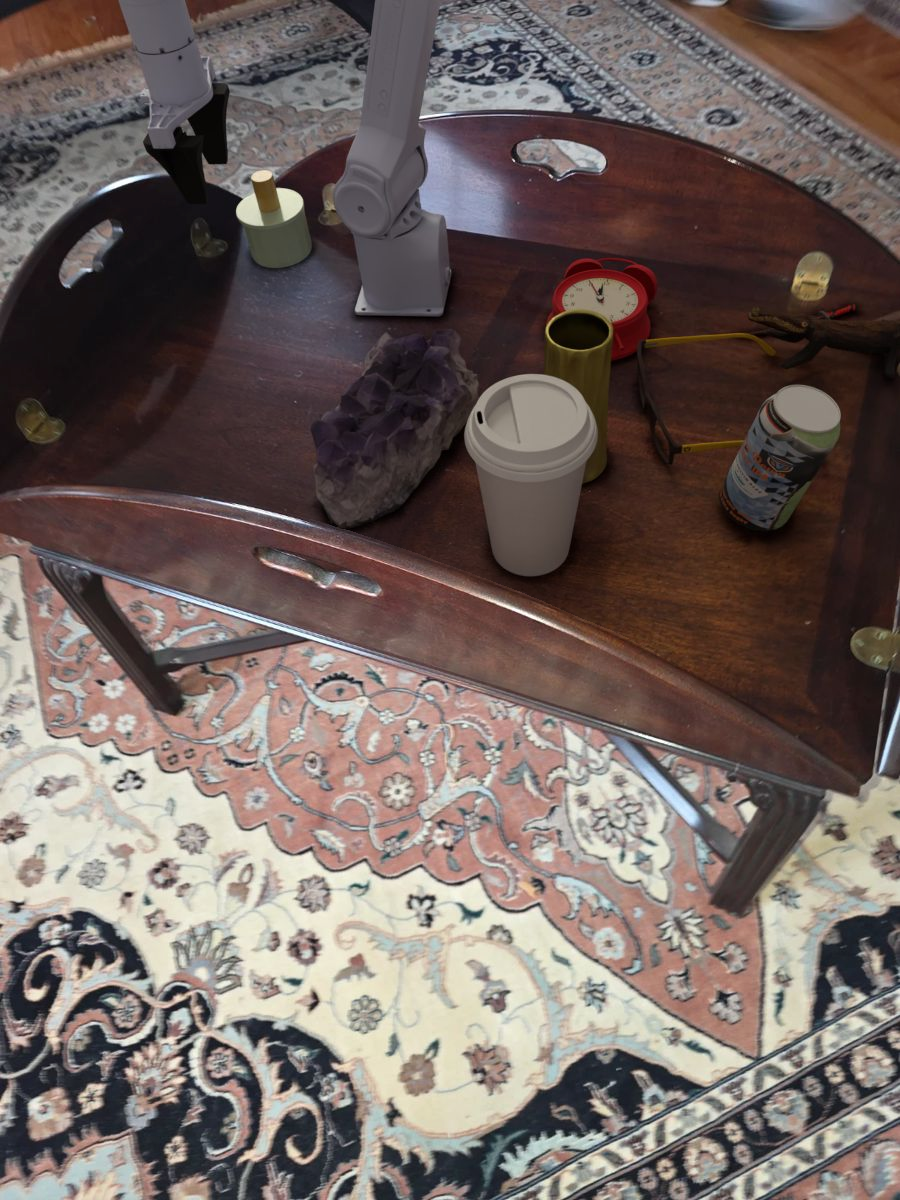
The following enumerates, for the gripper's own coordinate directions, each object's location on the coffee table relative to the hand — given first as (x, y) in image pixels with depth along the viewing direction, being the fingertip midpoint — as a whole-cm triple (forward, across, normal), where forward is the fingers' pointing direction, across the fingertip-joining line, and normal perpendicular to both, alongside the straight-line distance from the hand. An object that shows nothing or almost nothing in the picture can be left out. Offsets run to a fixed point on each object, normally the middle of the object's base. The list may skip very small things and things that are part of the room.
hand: (208, 182), depth 93 cm
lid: (+5, -3, +5) cm, 8 cm away
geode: (+10, +29, +24) cm, 39 cm away
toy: (+10, +15, +65) cm, 68 cm away
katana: (+10, +11, +61) cm, 63 cm away
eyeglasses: (+10, +22, +53) cm, 59 cm away
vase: (+10, +29, +40) cm, 50 cm away
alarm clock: (+10, +9, +42) cm, 44 cm away
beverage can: (+10, +34, +56) cm, 66 cm away
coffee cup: (+10, +39, +37) cm, 55 cm away
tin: (+10, -3, +5) cm, 11 cm away
